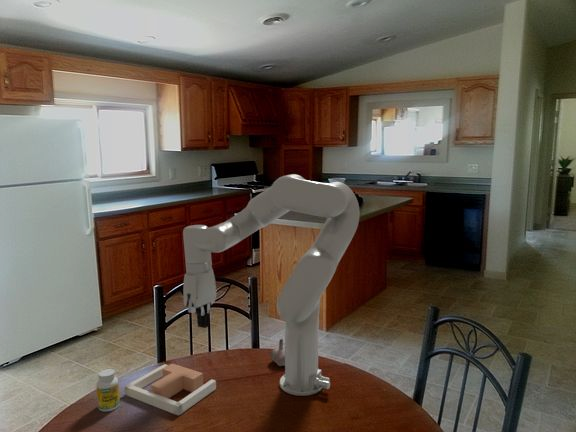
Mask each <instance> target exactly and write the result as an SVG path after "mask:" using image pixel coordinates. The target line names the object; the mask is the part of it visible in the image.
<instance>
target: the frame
mask: <svg viewBox="0 0 576 432" xmlns="http://www.w3.org/2000/svg"><path fill="white" fill-rule="evenodd" d="M167 366H169V364H167V363H166V364H165V363H164V364H162V365H161V366H159V367H157V368H155V369H153V370H152V371H149V372H148V373H146V374H144V375H142V376H141V377H139V378H137V379H135V380H134V381H131V382H130V383H128V384H126V385H124V395H125V396H127V397H130V398H132V399H135V400H138V401H140V402H143V403H145V404H148V405H151V406H153V407H155V408H158V409H161V410H163V411H165V412H168V413H171V414H174V415H176V416H179V417H180V415H182V414H183V413H184V412H186V411H188V409H190V408H191V407H193V406H195V405H196V404H197V403H198V402H200V401H201V400H203V399H204V398H205V397H207V396H208V395H210V394H211V393H213V392H214V391H215V390H217V380H215V379H210V380H208V381H207V382H206V383H203V386H201V387H200V388H198V389H197V390H195V391H194V392H191V393H189V394H188V395H186V396H185V397H184V398H183V397H182V399H181V400H178V401H176V400H173V399H171V398H165V397H163V396H160V395H157V394H155V393H152V392H151V391H149V390H148V389H147V390H146V389H144V388H145V387H147V386H149V385H151V384H153V383H155V382H157V381H158V380H160V379H162V378H163V371H162V369H163V368H165V367H167Z"/></svg>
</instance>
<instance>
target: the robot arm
mask: <svg viewBox="0 0 576 432" xmlns="http://www.w3.org/2000/svg"><path fill="white" fill-rule="evenodd" d="M290 211H292V212H295V213H300V214H306V215H310V216H315V217H319V218H326V220H325V222H324V224H323V226H322V228H321V229H320V231H319V234H318V235H317V237H316V238H315V240H314V242H313V243H312V245H311V246H310V248H309V249H308V250H307V251H306V252H305V253H304V254H303V255H302V256H301V258H299V260H298V262H297V263H296V265H295V267H294V268H293V270H292V271H291V273H290V275H289V277H288V278H287V280H286V282H285V284H284V286H283V287H282V289H281V291H280V293H279V295H278V297H277V300H276V310H277V313H278V315H279V316H280V318H281V319H282V320H283V321H284V348H285V366H284V374H283V375H282V376H281V377H280V379H279V388H280V389H282V391H283V392H285V393H287V394H290V395H293V396H302V397H303V396H305V397H306V396H311V395H314V394H317V393H319V392H320V391H322V389H323V388H324V389H327V390H329V389H330V387H331V381H330V379H331V378H330V377H327V376H323V375H322V369H319V325H320V323H319V319H320V318H319V317H320V307H321V306H320V305H321V297H322V296H323V294H324V292H325V290H326V289H327V287H328V285H329V284H330V282H331V280H332V279H333V277H334V275H335V273H336V271H337V268H338V265H339V263H340V261H341V259H342V258H343V256H344V255H345V253H346V250H347V249H348V247H349V245H350V243H351V242H352V241H353V240H352V239H353V238H354V236H355V234H356V232H357V229H358V227H359V222H360V206H359V202H358V198H357V197H356V194H355V193H354V192H353V190H352V189H351V188H350V187H349V186H348V185H347V184H345V183H343V182H341V181H332V182H328V183H327V182H319V181H313V180H312V181H311V180H307V179H305V178H304V177H303V176H301V175H299V174H295V173H293V174H292V173H291V174H287V175H283V176H280V177H278V178H277V179H276V180H275V181H274V182H273V183H272V185H271V186H270V187H268V188H267V189H265V190H264V191H262V192H260V193H259V194H257V195H255V196H254V197H253V198H251V199H250V200H249V201H248V203H247V205H246V207H244V208H243V209H242V210H241V211H239V212H238V213H236V214H235V215H234V216H232V217H230V218H229V219H227V220H225V221H224V222H221V223H218V224H216V225H213V226H211V227H208V226H207V225H205V224H194V225H188V226H186V227H184V228H183V230H182V231H183V233H182V234H183V247H184V249H183V250H184V259H185V260H184V261H185V271H186V273H185V274H184V277H183V288H182V289H183V293H182V294H183V295H182V296H183V305H184V307H187V308H188V309H187V312H188V313H189V314H190V313H191V314H195V315H196V320H197V322H196V323H197V327H198V328H202V329H206V328H208V327H210V317H209V313H210V312H211V306H212V305H214V303H216V299H217V284H216V278H215V273H214V269H213V266H212V265H213V260H212V253H217V254H218V253H221V252H224V251H226V250H228V249H230V248H232V247H234V246H235V245H237V244H238V243H240V242H241V241H243V240H244V239H246V238H247V237H249V236H251V235H253V234H254V233H255V232H257V231H258V230H260V229H262V228H263V229H264V228H265V227H267V226H269V225H270V224H272V223H273V222H275V221H276V220H278V219H280V218H281V217H282V216H284V215H285V214H287V213H289V212H290Z"/></svg>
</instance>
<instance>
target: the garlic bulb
mask: <svg viewBox="0 0 576 432" xmlns="http://www.w3.org/2000/svg"><path fill="white" fill-rule="evenodd" d="M278 346H279V347H275V348H274V349H272V350H271V352H270V359H271V360H272V362H274V363H276V365H277V366H279V367H283V366H284V367H285V347H284V339H283V338H280V339H279V343H278Z"/></svg>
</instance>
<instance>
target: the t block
mask: <svg viewBox="0 0 576 432" xmlns="http://www.w3.org/2000/svg"><path fill="white" fill-rule="evenodd" d="M162 371H163V376H162V377H161V378H159V379H157V380H156V381H154V382H152V383H150V390H151V391H150V392H152V393H155V394H157V395H160V396H163V397H165V398H168V399H171V397H173V396H175V395H176V394H178V393H180V392H182V390H186V391H188V392H191V393H192V392H194V391H195V390H197V389H198V388H200V387H201V386H203V385H204V373H203V372H200V371H198V370H194V369H191V368H189V367H188V368H187V367H185V366H181V365H178V364H175V363H171V364H168V366H167V367H165V368H163V369H162Z"/></svg>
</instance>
